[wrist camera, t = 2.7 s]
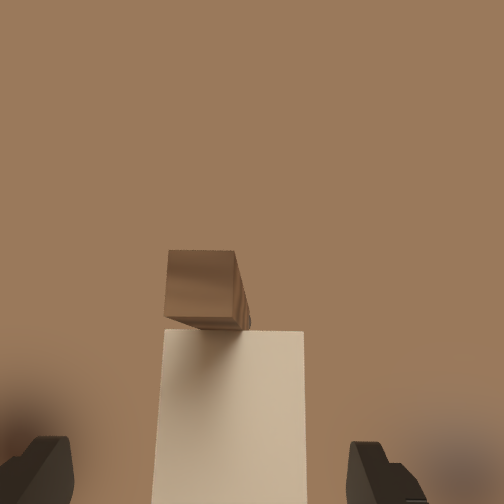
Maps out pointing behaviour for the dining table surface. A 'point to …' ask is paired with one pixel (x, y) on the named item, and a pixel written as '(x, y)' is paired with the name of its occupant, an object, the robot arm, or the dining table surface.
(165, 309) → the lever handle
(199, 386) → the post
